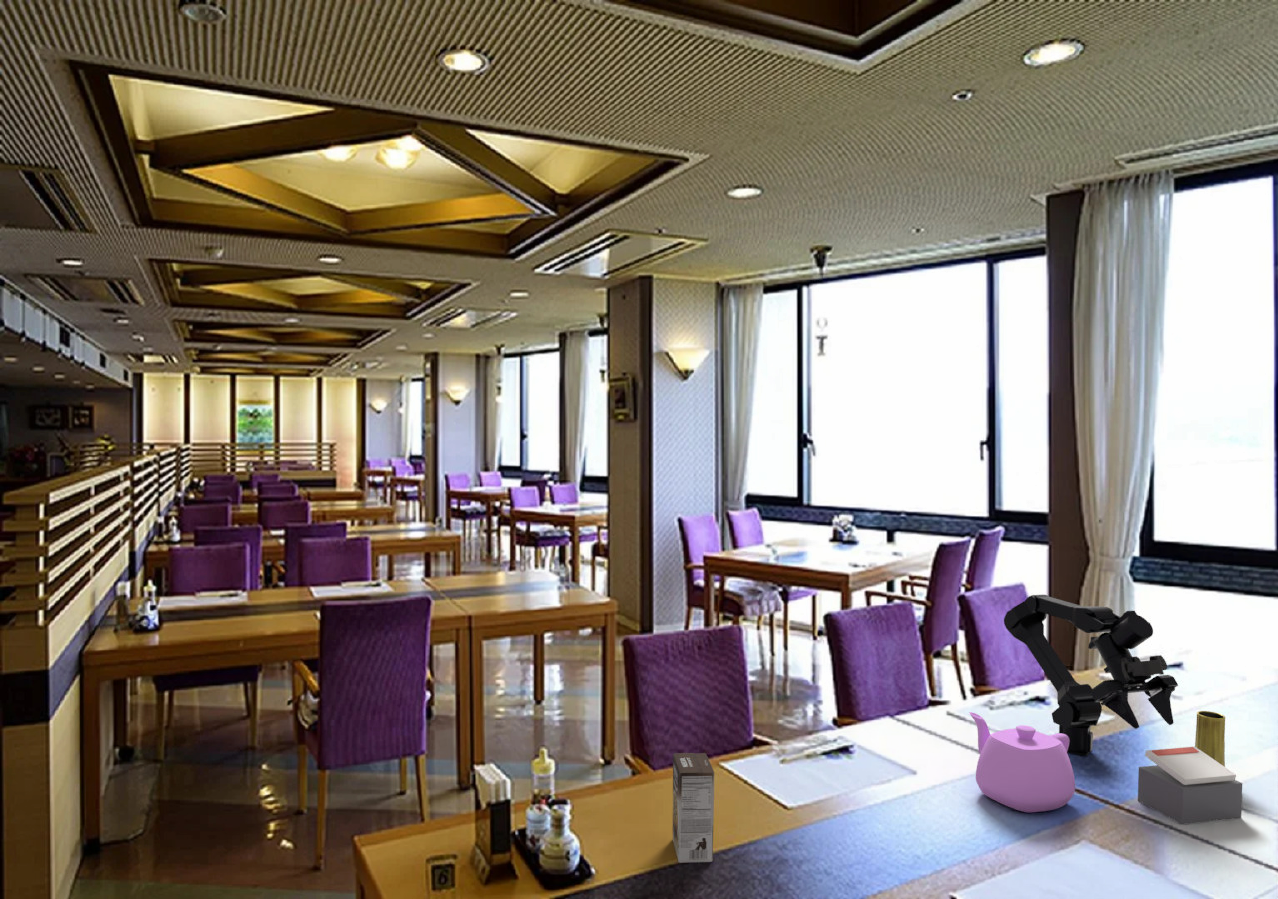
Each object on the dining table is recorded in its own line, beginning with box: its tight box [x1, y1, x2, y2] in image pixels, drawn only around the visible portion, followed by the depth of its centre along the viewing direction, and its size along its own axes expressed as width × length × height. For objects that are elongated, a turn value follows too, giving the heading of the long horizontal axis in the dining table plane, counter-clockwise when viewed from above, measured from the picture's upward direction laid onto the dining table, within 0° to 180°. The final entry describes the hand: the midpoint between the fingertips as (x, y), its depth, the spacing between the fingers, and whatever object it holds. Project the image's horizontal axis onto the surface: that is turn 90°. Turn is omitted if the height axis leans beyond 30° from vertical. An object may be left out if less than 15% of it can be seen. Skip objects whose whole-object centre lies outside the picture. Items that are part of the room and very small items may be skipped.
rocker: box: [1144, 746, 1237, 785], centre depth 175 cm, size 10×12×1 cm
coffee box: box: [672, 752, 715, 864], centre depth 156 cm, size 9×6×16 cm
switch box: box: [1137, 764, 1243, 825], centre depth 175 cm, size 11×14×7 cm
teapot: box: [968, 712, 1076, 814], centre depth 182 cm, size 23×21×15 cm
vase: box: [1194, 710, 1226, 767], centre depth 191 cm, size 6×6×14 cm
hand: (1154, 726), depth 186 cm, fingers open, 9 cm apart
